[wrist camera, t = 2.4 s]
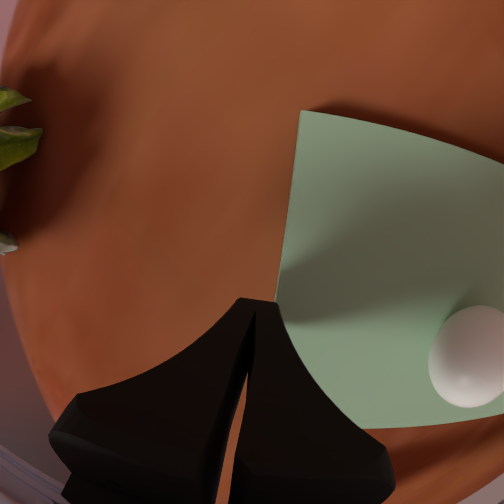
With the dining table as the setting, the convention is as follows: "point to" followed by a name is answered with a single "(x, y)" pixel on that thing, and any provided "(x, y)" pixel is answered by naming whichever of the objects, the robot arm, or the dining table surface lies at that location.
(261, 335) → the robot arm
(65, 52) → the dining table surface
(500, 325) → the ball
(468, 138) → the dining table surface
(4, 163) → the passion flower
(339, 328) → the putting mat
